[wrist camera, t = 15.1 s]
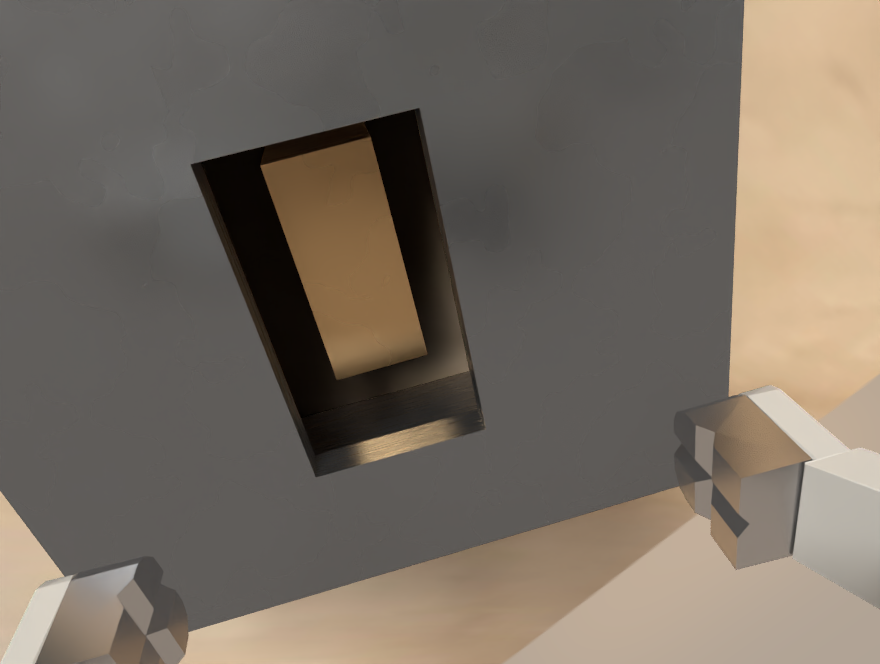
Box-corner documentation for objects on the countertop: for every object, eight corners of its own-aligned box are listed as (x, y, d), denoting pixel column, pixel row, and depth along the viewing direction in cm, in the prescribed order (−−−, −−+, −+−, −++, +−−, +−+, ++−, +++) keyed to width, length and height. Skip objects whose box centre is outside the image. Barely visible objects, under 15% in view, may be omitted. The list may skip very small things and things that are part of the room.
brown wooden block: (357, 107, 21) (370, 136, 17) (406, 290, 24) (427, 354, 20) (269, 130, 21) (260, 165, 16) (331, 311, 24) (336, 380, 20)
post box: (587, -148, 19) (753, -232, 12) (619, 353, 28) (725, 472, 21) (-96, 4, 17) (-363, 9, 10) (169, 479, 26) (121, 651, 19)
